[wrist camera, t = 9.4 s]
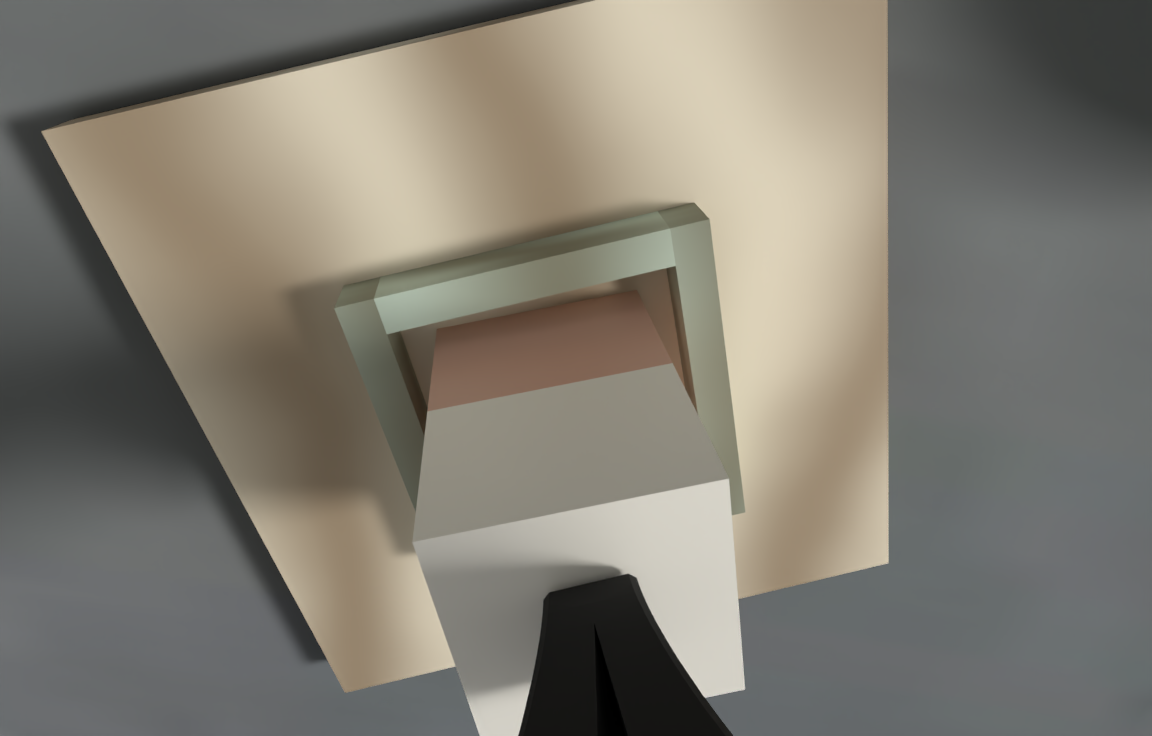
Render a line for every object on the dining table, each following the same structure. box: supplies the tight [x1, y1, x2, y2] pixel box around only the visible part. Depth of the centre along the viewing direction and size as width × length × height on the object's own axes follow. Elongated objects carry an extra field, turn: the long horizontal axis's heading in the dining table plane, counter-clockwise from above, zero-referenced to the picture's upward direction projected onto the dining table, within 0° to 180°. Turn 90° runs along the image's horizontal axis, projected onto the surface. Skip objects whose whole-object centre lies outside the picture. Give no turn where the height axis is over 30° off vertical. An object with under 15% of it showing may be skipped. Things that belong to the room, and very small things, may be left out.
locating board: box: [41, 0, 888, 693], centre depth 18 cm, size 16×16×2 cm
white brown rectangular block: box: [412, 290, 745, 736], centre depth 15 cm, size 4×4×7 cm
